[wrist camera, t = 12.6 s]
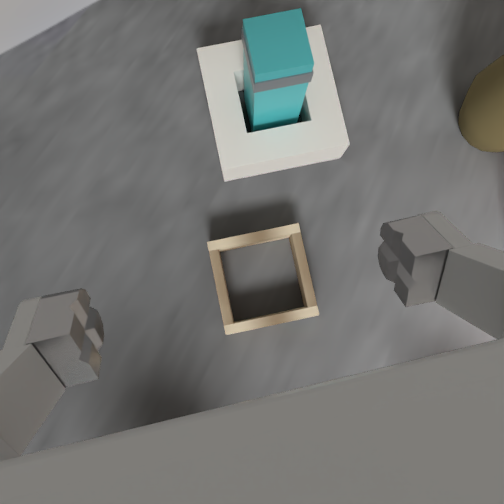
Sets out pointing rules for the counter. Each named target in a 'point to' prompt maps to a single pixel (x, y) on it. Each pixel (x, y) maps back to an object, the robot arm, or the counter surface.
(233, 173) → the port
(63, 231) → the counter surface
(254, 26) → the plug
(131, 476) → the robot arm
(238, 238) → the beige flat square frame
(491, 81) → the squeeze bottle
